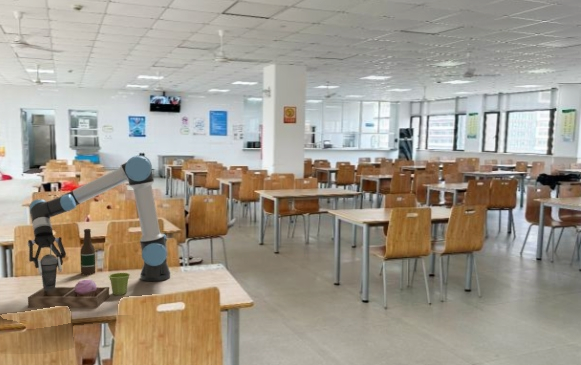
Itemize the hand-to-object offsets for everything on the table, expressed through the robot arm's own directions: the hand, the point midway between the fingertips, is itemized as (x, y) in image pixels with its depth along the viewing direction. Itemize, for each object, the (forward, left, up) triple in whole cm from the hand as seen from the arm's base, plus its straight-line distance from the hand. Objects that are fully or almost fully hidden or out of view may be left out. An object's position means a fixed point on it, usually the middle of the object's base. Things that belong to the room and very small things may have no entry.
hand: (50, 272), depth 211 cm
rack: (-7, -3, -14) cm, 16 cm away
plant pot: (-24, -16, -15) cm, 33 cm away
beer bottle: (+4, -51, -15) cm, 54 cm away
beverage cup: (+2, -3, -9) cm, 9 cm away
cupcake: (-14, -3, -15) cm, 20 cm away
